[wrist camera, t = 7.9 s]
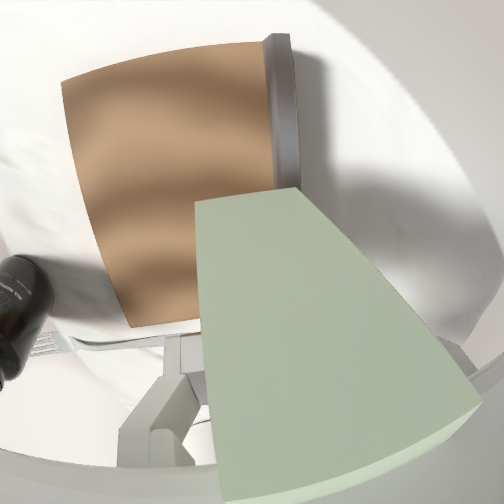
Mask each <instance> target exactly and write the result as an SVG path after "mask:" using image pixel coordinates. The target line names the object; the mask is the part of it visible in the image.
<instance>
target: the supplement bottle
mask: <svg viewBox="0 0 504 504" xmlns="http://www.w3.org/2000/svg"><path fill="white" fill-rule="evenodd" d="M52 306H53V293H52V289H51V286H50V283H49V281H48V280H47V278H46V276H45V275H44V273H43V272H42V271H41V270H40V269H39V268H38V267H37V266H36V265H35V264H33V263H32V262H31V261H29V260H27V259H25V258H22V257H16V256H13V257H8V258H6V259H4V260H3V261H2V262H1V263H0V391H2V389H3V386H4V381H11V380H14V379H16V378H17V377H18V376H19V375H20V374H21V373H22V371H23V369H24V366H25V364H26V362H27V359H28V357H29V355H30V353H31V350H32V348H33V346H34V344H35V342H36V340H37V337H38V335H39V333H40V331H41V329H42V327H43V325H44V323H45V321H46V319H47V317H48V315H49V313H50V311H51V309H52Z"/></svg>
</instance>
